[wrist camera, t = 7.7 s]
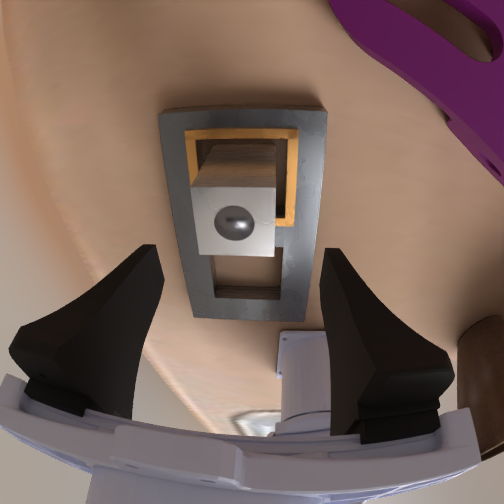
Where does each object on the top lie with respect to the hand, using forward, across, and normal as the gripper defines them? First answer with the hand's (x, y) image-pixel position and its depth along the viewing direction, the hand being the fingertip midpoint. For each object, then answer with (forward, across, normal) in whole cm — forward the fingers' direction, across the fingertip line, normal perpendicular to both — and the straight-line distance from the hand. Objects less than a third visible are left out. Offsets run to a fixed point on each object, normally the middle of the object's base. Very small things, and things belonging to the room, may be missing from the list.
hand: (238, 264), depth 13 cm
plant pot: (+10, -29, +19) cm, 36 cm away
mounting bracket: (+10, -13, -10) cm, 19 cm away
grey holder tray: (+9, +1, +4) cm, 10 cm away
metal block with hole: (+9, 0, 0) cm, 9 cm away
